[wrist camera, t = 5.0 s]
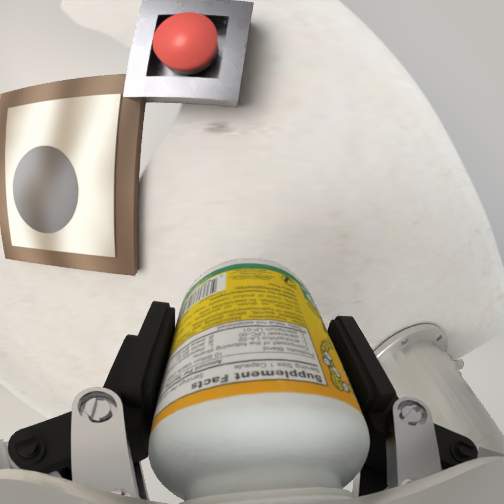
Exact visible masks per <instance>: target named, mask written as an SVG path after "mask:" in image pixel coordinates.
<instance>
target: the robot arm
mask: <svg viewBox="0 0 504 504" xmlns="http://www.w3.org/2000/svg"><path fill="white" fill-rule="evenodd" d="M174 331H175V308H172V307H170V305H169V303H165V302H157V301H153V302H152V304H151V307H150V309H149V311H148V313H147V316H146V318H145V320H144V323H143V325H142V327H141V329H140V332H139V334H138V336H135V335H129V334H128V335H127V336H126V337H125V339H124V341H123V344H122V346H121V348H120V350H119V352H118V354H117V357H116V359H115V361H114V363H113V366H112V368H111V370H110V372H109V375H108V377H107V379H106V382H105V384H104V386H103V388H102V387H93V388H88V389H85V390H83V391H82V392H80V393H79V394H78V395H77V396H76V397H75V399H74V401H73V405H72V411H71V412H68V413H65V414H63V415H60V416H57V417H55V418H52V419H49V420H46V421H44V422H41V423H38V424H35V425H33V426H29V427H26V428H23V429H20V430H19V431H17V432H15V433H14V434H13V435H12V436H11V438H10V440H9V442H4V441H3V439H2V440H0V504H166V503H160V502H154V501H149V497H148V493H147V489H146V484H145V480H144V476H143V471H142V466H141V460H143V459H145V458H147V457H148V448H149V438H150V433H151V428H152V423H153V418H154V414H155V409H156V404H157V400H158V396H159V391H160V387H161V383H162V379H163V375H164V371H165V368H166V364H167V360H168V356H169V352H170V348H171V344H172V340H173V336H174ZM327 332H328V335H329V337H330V339H331V341H332V343H333V346H334V348H335V350H336V352H337V354H338V356H339V359H340V361H341V363H342V366H343V368H344V370H345V373H346V375H347V376H348V379H349V382H350V384H351V387H352V389H353V392H354V394H355V396H356V399H357V401H358V404H359V406H360V409H361V411H362V414H363V416H364V419H365V422H366V424H367V428H368V432H369V437H370V447H369V452H368V456H367V458H366V461H365V463H364V465H363V467H362V468H361V470H360V471H359V473H358V474H357V475H356V476H355V477H354V481H353V491H352V493H353V494H354V495H355V497H356V498H351V499H346V500H341V501H335V502H329V503H323V504H504V435H503V434H502V432H501V431H500V430H499V428H498V427H497V425H496V424H495V422H494V421H493V419H492V418H491V417H490V415H489V413H488V412H487V411H486V409H485V408H484V406H483V405H482V404H481V402H480V401H479V399H478V398H477V397H476V395H475V394H474V392H473V391H472V390H471V388H470V387H469V386H468V384H467V383H466V382H465V381H464V379H463V378H462V377H461V373H460V371H458V370H459V369H462V368H463V365H464V362H463V360H462V359H459V360H454V361H452V359H451V358H450V357H449V356H448V354H447V353H446V351H447V344H448V343H447V338H446V336H445V334H444V333H443V332H442V331H441V330H440V328H438V327H437V326H435V325H431V324H420V325H416V326H412V327H410V328H407V329H405V330H403V331H401V332H399V333H397V334H395V335H394V336H392V337H391V338H389V339H388V340H387V341H385V342H384V343H383V344H382V345H380V346H379V347H378V348H377V349H376V350H375V351H374V352H373V350H372V348H371V347H370V345H369V343H368V341H367V340H366V338H365V336H364V335H363V333H362V331H361V330H360V328H359V326H358V325H357V323H356V321H355V320H354V318H353V317H352V316H337V317H336V318H335V320H331V322H330V325H329V328H328V331H327Z"/></svg>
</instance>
